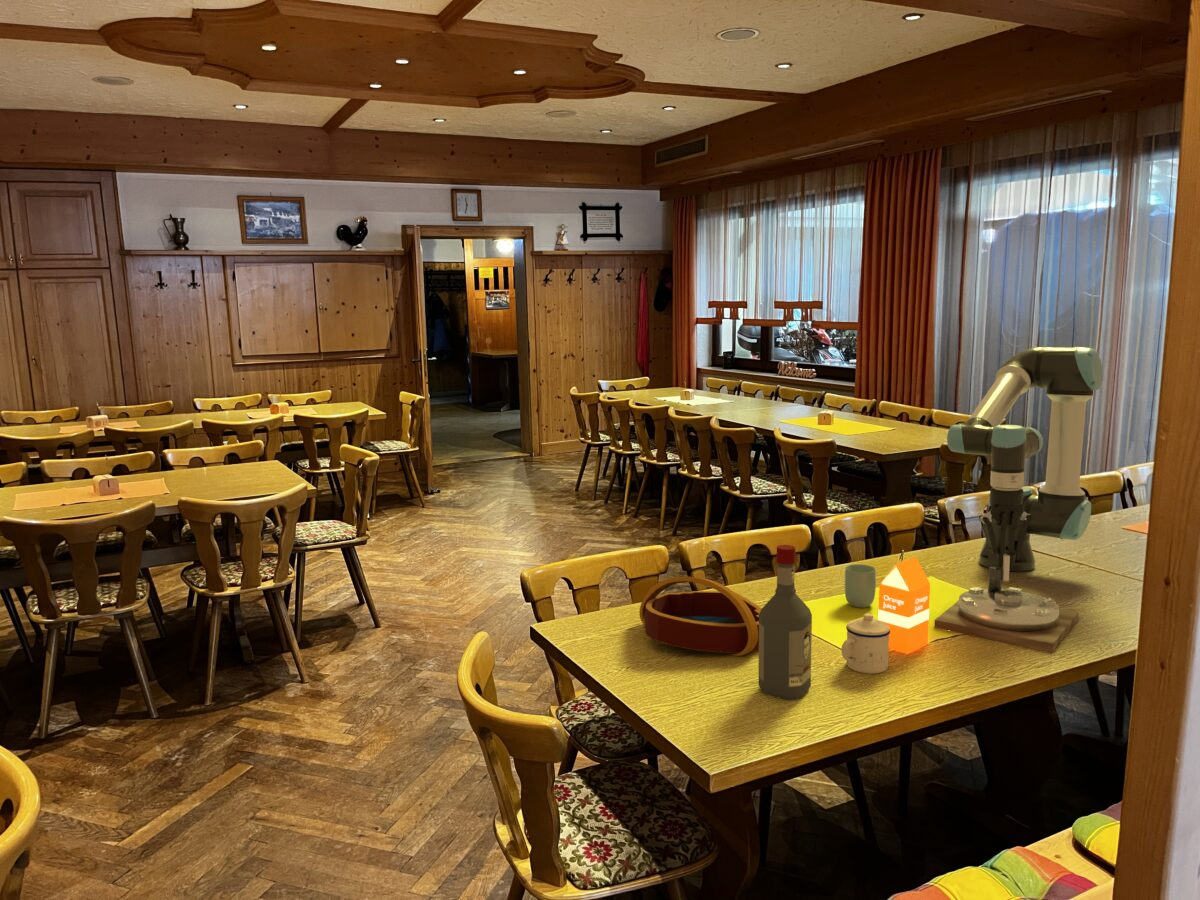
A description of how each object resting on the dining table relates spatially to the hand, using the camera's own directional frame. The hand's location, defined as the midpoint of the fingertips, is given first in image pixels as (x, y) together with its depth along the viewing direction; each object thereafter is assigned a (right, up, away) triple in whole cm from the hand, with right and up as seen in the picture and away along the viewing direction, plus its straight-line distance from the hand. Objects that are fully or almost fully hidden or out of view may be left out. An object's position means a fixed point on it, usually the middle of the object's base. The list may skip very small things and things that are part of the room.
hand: (1003, 579), depth 219 cm
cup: (-34, -8, +8) cm, 36 cm away
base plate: (-3, -10, -8) cm, 13 cm away
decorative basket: (-78, -13, -12) cm, 80 cm away
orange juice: (-32, -12, -19) cm, 39 cm away
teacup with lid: (-45, -15, -32) cm, 57 cm away
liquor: (-64, -17, -42) cm, 78 cm away
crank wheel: (-3, -7, -8) cm, 11 cm away
